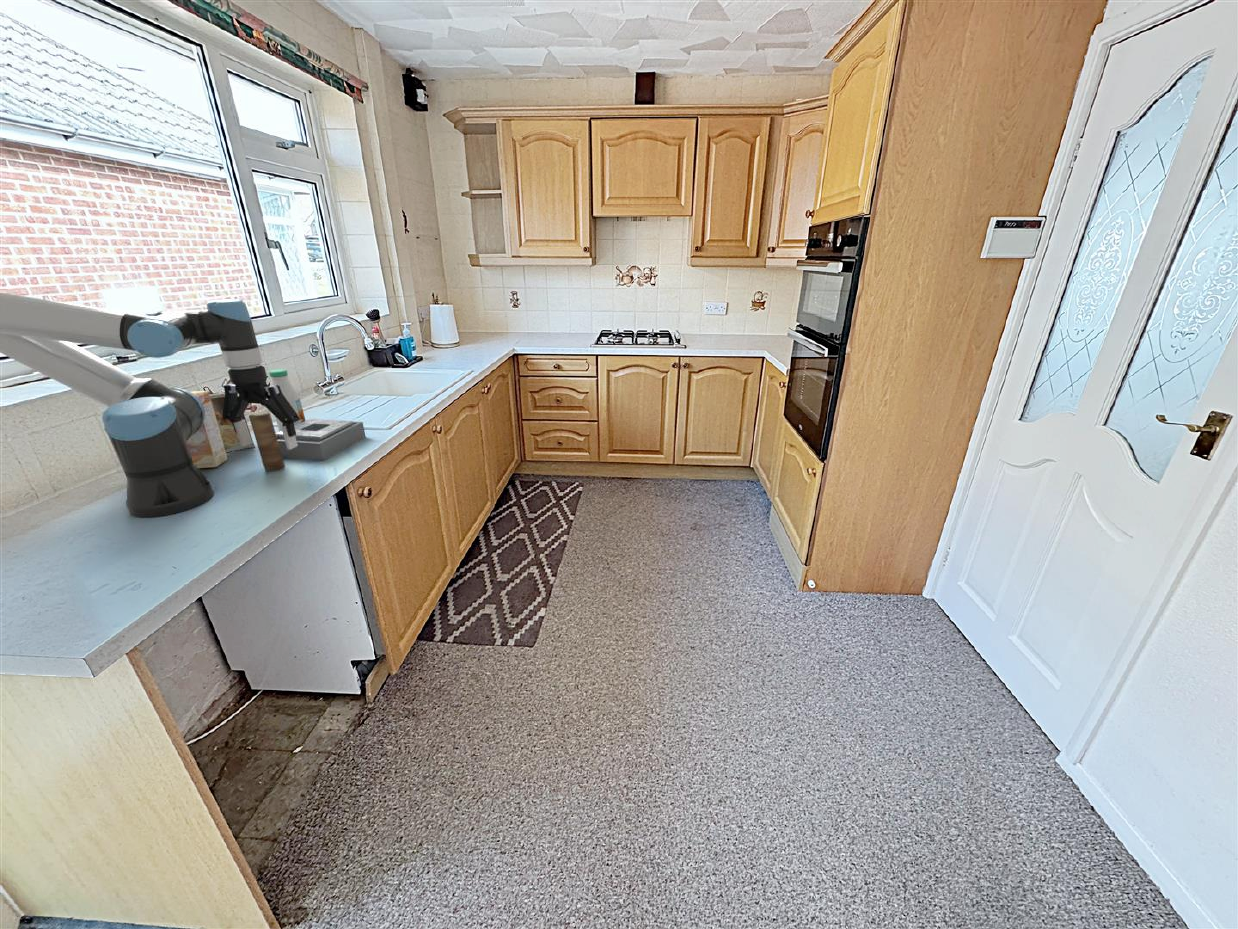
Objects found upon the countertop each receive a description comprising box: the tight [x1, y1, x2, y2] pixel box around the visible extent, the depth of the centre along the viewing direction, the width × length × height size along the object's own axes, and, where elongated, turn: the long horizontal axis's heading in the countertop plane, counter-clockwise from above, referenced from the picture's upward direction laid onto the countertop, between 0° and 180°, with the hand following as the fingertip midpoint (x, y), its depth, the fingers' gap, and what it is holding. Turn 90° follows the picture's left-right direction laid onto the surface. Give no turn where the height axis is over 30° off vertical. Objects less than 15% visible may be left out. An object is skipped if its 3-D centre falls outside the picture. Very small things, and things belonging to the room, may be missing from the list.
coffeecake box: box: [186, 390, 228, 469], centre depth 131 cm, size 15×7×20 cm, turn 105°
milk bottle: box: [268, 368, 306, 432], centre depth 155 cm, size 8×8×20 cm
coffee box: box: [209, 391, 255, 453], centre depth 144 cm, size 9×6×16 cm
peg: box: [248, 411, 286, 473], centre depth 131 cm, size 4×4×15 cm
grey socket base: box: [277, 420, 366, 461], centre depth 148 cm, size 19×17×5 cm
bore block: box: [275, 418, 353, 442], centre depth 147 cm, size 14×14×5 cm
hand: (269, 446), depth 131 cm, fingers open, 13 cm apart
